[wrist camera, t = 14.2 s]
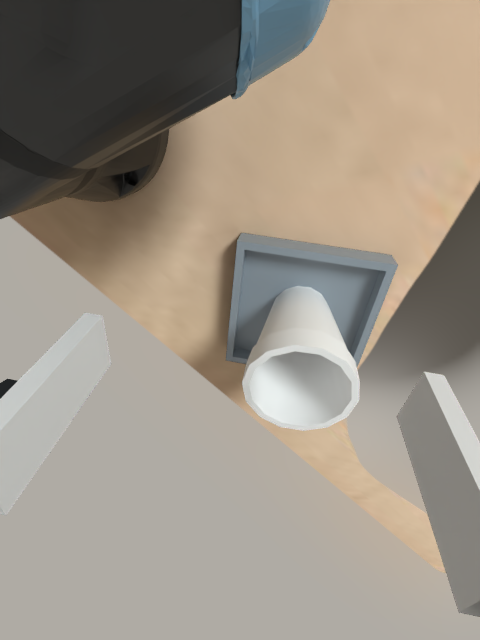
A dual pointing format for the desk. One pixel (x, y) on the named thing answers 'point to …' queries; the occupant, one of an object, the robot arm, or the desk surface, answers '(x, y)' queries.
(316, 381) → the foam cup
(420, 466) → the robot arm
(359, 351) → the grey tray
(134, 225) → the desk surface
